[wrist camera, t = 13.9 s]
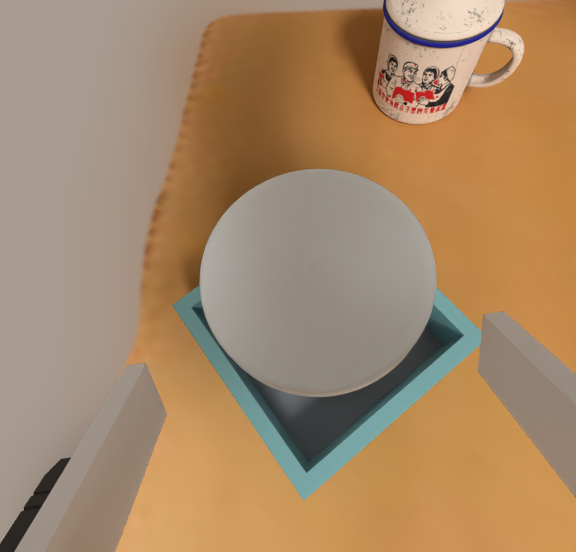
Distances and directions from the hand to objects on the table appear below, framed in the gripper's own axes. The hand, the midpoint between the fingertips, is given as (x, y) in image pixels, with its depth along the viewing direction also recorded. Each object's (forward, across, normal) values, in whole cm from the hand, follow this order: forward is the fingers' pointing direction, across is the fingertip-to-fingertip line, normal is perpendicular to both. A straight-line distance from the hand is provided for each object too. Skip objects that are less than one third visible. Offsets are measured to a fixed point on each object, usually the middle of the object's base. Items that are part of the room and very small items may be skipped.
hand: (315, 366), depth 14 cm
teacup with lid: (+28, +15, +8) cm, 33 cm away
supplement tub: (+12, +1, -7) cm, 14 cm away
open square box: (+13, +1, -7) cm, 15 cm away
